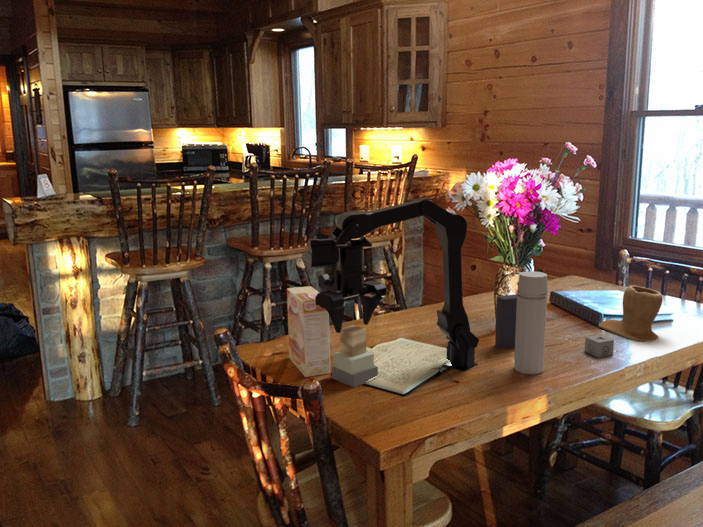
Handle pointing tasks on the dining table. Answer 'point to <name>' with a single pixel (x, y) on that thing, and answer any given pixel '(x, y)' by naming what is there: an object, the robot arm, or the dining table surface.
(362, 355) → the tower top
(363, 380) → the tower base
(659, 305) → the brown hollow flared piece
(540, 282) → the water bottle
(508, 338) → the dark upright pillar
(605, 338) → the grey cube
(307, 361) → the coffeecake box
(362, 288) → the robot arm
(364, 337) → the wood block
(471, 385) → the dining table surface
